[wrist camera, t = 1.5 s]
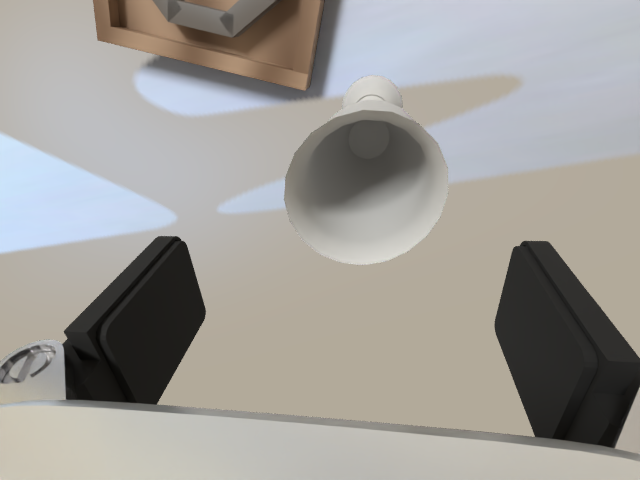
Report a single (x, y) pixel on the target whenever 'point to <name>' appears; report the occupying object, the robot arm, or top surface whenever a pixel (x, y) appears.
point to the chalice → (366, 179)
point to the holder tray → (221, 34)
